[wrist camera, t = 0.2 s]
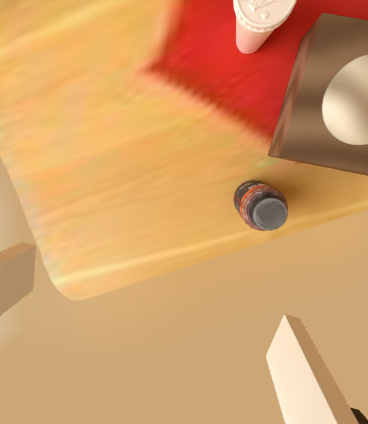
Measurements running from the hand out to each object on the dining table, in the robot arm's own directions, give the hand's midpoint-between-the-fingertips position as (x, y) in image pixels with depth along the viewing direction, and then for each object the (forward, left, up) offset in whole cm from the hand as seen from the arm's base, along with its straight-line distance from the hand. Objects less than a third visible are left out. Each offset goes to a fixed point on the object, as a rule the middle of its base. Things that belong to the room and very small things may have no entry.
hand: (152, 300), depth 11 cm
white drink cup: (-24, +4, -28) cm, 37 cm away
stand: (-17, +19, -28) cm, 38 cm away
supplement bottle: (-2, +10, -28) cm, 30 cm away
